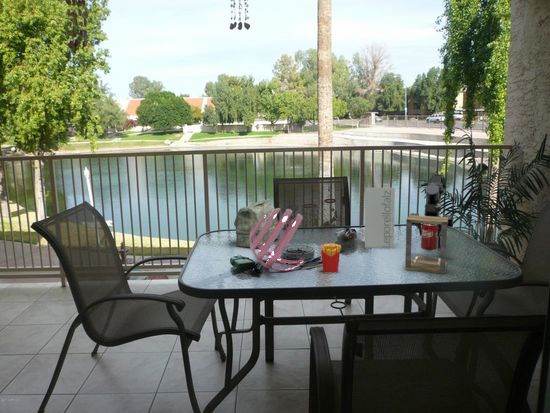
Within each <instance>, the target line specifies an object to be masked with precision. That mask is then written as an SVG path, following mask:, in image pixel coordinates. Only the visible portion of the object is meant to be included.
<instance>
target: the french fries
mask: <svg viewBox="0 0 550 413" xmlns="http://www.w3.org/2000/svg"><path fill="white" fill-rule="evenodd" d="M320 247H321V251H320V256H321V263H322V271H323V273H326V272H331V273H332V274H333V273H335V272H336V273H338V272H339V268H340V266H339V263H340V257H341V256H340V254H341V248H342V246H341V244H337V243H329V244H328V243H324V244H323V245H320ZM331 273H330V274H331Z"/></svg>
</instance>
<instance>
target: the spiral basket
mask: <svg viewBox="0 0 550 413" xmlns="http://www.w3.org/2000/svg"><path fill="white" fill-rule="evenodd" d="M280 211H281V208H279V207H276V208H275V210H274V211H273V213H272V214H271V216H270V217H269V219H268V220H267V222H266V224H265V225H264V227H263V228H262V230H261V231H260V233H259V234H258V236H257V237H256V236H255V233H256V231H257V230H258V228H259V226H260V225H261V223H262V222H263V220H264V219H265V217H266V216H267V214H268V212H269V211H267V212H265V213H264V214H263V215H262V217H261V218H260V220H259V221H258V223H257V224H256V226H255V228H254V227H253V228H252V229H251V231H250V236H249V240H250V247H249V248H250V251H251V253H252V254H253V256H254V258H255V260H256V262H258V263H260V265H262V266H263V267H264V268H266V269H267V270H271V271H275V272H289V271H290V272H291V271H293V270H295V269H297V268H299V267H300V266H302V265H303V264H304V262H305V259H303V258H302V259H298V260H288V259H284V258H282V257H281V255H282V254H283V252H284V251H285V249H286V247H287V246H288V245H289V243H290V241H291V240H292V238H293V236H294V235H295V233H296V232H297V230H298V228H299V227H300V224H301V223H302V221H303V219H304V218H303V215H302V214H300V213H297V214H296V215H295V217H294V218H293V219H292V221H291V222H290V224H289V225H288V226H287V228H286V229H285V230H284V233H282V235H281V237H280V238H279V240H278V242H277V243H276V245H275V246H274V248H273V250H272V251H269V250H270V248H271V247H272V245H273V244H274V243H275V241H276V240H277V239H278V238H277V236H278V235H279V236H280V233H281V232H282V230H283V229H284V227H285V225H286V223H288V222H287V221H288V220H290V217H291V215H292V213H293V209H291V208H286V210H285V211H284V212H283V214H282V215H281V216H280V218H279V220H278V223H277V224H276V226H275V227H274V229H273V230H272V232H271V233H270V235H269V237H268V238H267V240H266V241H265V243H264V244H263V245H261V244H260V241H261V239H262V237H263V236H264V234H265V233H266V231H267V230H268V228H269V227H270V225H271V224H272V222H273V220H274V219H275V217H276V216H277V217H278V215H279V212H280ZM252 237H253V239H254V242H253V244H252ZM276 238H277V239H276ZM256 247H258V248H256ZM255 249H258V250H259V251H258V253H256V251H255ZM265 256H267V257H266V258H267V260H266V261H265V262H264V261H263V258H264V257H265ZM276 262H277V263H282V264H286V263H288V264H289V265H291V264H292V265H293V264H297V265H295V266H292V267H290V268H281V269H280V268H276V267H274V265H275V264H276Z"/></svg>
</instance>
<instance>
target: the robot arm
mask: <svg viewBox="0 0 550 413" xmlns="http://www.w3.org/2000/svg"><path fill="white" fill-rule="evenodd" d="M447 180H448V179H446V178H445V177H444V175H443V174H439V173H438V174H437V173H436V174H432V176H431V177H430V178H429V182H428V183H427V185H426V186H425V189H424V194H425V195H426V196H425V198H426V203H425V205H424V206H425V207H424V212H423V213H424V215H423V216H433V217H442V216H440V213H441V212H442V203H441V202H442V201H441V200H442V196H443V195H444V194H446V193H445V192H446V190H447V186H448V184H447ZM409 215H414V216H420V214H419V213H413V212H411V213H410V214H409ZM443 217H448V223H447V229H448V228H449V227H450V228H452V227H453V226H454V216H453V215H450V214H449V215H447V214H443ZM412 225H414V226H415V227H417V230H418V232H419V235H420V237H421V228H422V223H412ZM438 225H439V229H438V248H441V230H442V224H438Z"/></svg>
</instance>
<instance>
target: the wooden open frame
mask: <svg viewBox="0 0 550 413" xmlns="http://www.w3.org/2000/svg"><path fill="white" fill-rule="evenodd" d="M405 221H406V225H405V228H406V229H405V231H406V232H405V263H404V265H405V269H404V270H405V271H411V272H421V273H422V272H423V273H431V274H432V273H433V274H441V275H442V274H443V275H446V271H447V266H448V260H447V243H448V242H447V239H448V237H447V236H448V228H447V223H448V217H444V216H441V217H433V216H425V215H419V216H414V215H410V214H409V215H408V217H407V218H406V220H405ZM412 223H421V224H422V223H428V224H442V230H441V236H440V239H441V241H440V245H441V247H440V257H435V256H434V257H433V256H422V255H417V256H415V257H412V238H413V237H412V236H413V233H412V231H413V228H412V227H413V224H412Z"/></svg>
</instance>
